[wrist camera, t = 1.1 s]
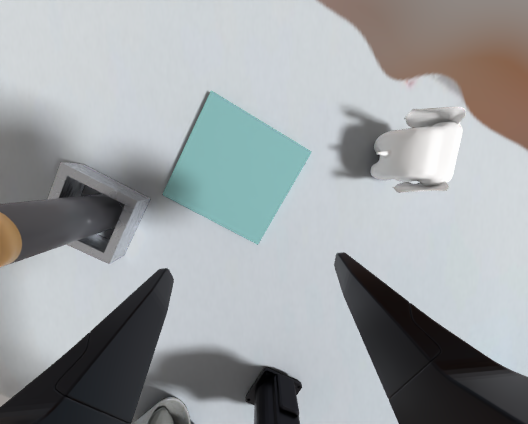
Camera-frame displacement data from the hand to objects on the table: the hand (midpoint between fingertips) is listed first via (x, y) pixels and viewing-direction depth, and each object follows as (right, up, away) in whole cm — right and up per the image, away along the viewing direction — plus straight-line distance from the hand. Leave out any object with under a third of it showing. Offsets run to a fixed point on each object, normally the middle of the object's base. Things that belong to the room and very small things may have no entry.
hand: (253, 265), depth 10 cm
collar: (-19, +3, +13) cm, 23 cm away
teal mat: (-3, +8, +12) cm, 15 cm away
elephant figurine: (+17, +9, +13) cm, 23 cm away
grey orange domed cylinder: (-19, +3, +13) cm, 23 cm away
